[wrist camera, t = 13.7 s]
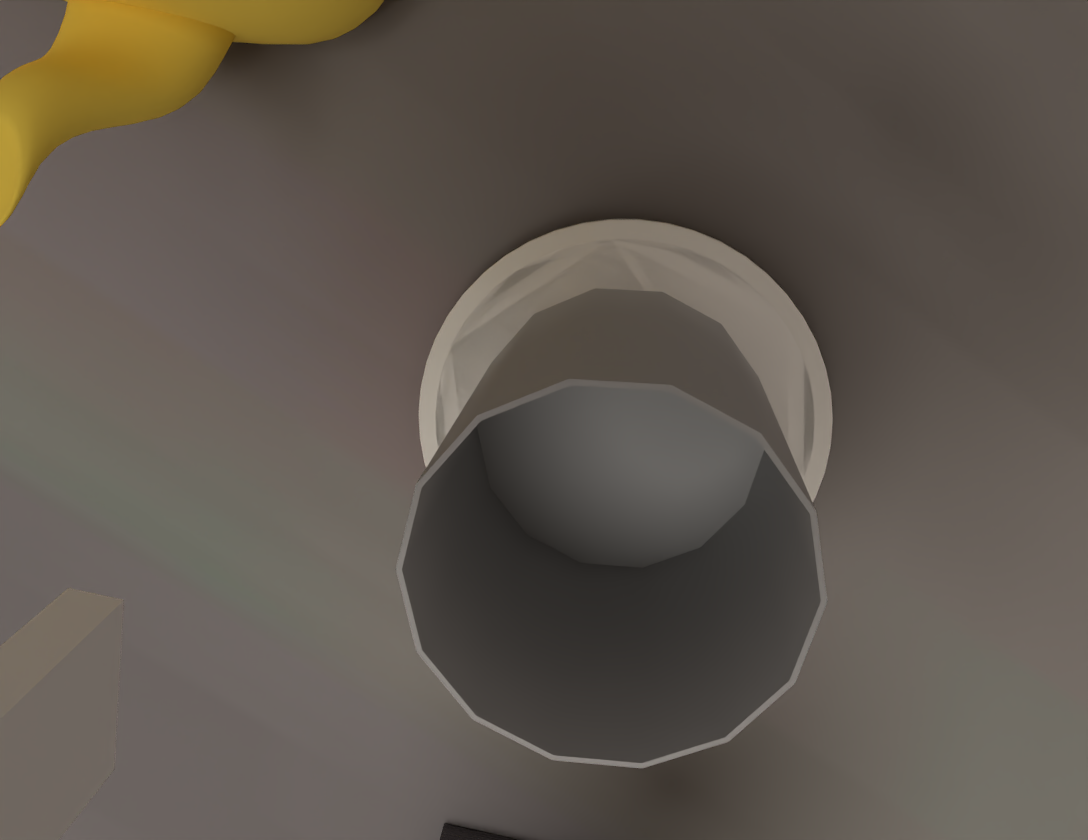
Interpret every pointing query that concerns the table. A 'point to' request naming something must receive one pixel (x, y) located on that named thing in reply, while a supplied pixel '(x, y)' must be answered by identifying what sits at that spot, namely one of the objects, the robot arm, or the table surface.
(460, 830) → the balance
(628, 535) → the cup
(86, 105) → the teapot
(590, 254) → the dish
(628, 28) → the table surface
